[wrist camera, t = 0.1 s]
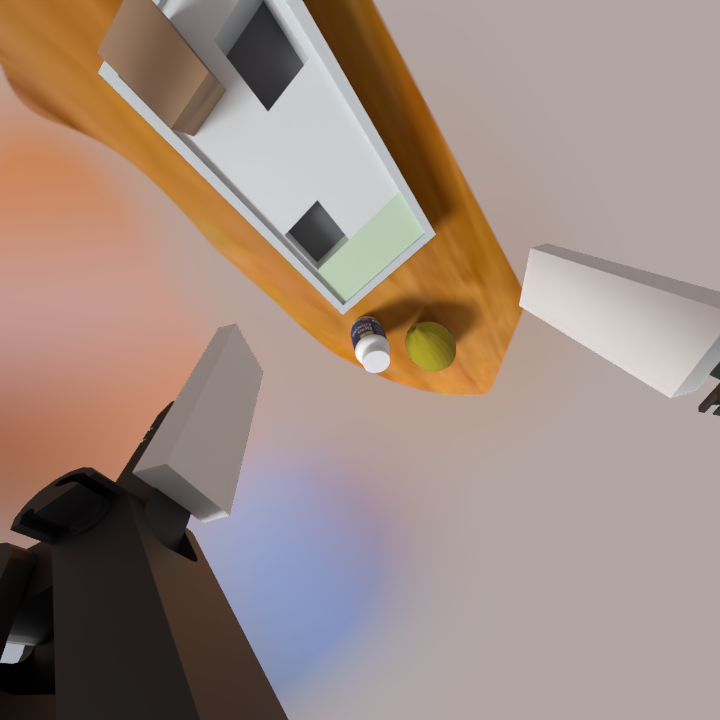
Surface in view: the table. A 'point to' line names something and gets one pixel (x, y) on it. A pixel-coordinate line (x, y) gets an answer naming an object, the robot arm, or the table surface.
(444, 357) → the lemon
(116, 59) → the walnut block
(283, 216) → the board
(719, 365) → the robot arm
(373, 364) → the pill bottle
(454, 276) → the table surface
